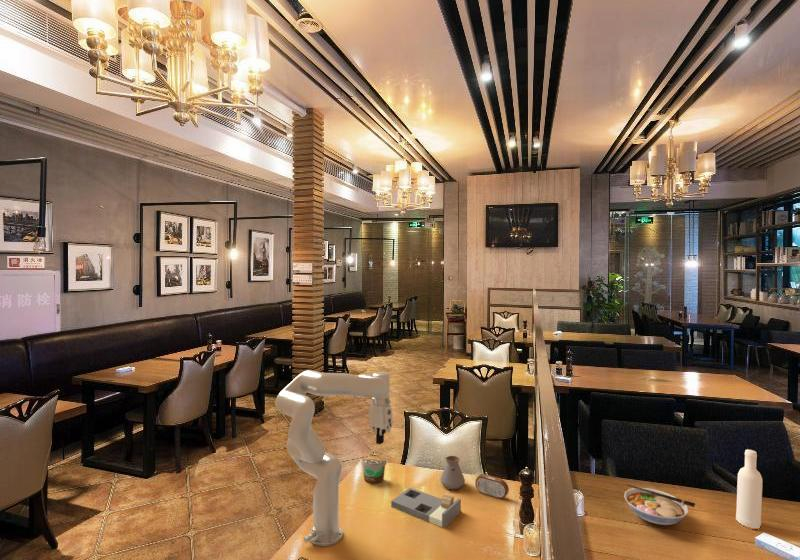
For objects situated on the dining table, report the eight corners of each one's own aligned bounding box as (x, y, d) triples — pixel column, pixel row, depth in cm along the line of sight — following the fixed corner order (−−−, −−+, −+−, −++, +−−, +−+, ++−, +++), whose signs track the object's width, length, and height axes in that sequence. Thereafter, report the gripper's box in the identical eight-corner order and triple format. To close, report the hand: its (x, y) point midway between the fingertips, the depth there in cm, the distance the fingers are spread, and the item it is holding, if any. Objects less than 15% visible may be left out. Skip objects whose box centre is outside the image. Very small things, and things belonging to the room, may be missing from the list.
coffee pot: (440, 478, 214) (440, 448, 213) (464, 480, 212) (464, 449, 212) (439, 502, 192) (439, 469, 192) (466, 504, 191) (466, 470, 191)
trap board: (444, 528, 174) (444, 514, 174) (391, 506, 189) (391, 494, 189) (460, 511, 185) (460, 498, 185) (409, 492, 200) (409, 480, 200)
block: (450, 509, 182) (450, 500, 182) (441, 507, 184) (441, 497, 184) (453, 505, 186) (453, 495, 186) (444, 502, 188) (445, 493, 188)
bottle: (739, 527, 175) (742, 453, 174) (732, 517, 183) (735, 445, 181) (764, 532, 172) (767, 456, 171) (756, 521, 180) (759, 448, 179)
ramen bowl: (613, 518, 181) (613, 499, 181) (629, 497, 198) (630, 479, 197) (684, 545, 164) (685, 524, 164) (696, 519, 181) (696, 500, 180)
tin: (508, 498, 196) (509, 480, 196) (506, 501, 193) (506, 483, 193) (477, 489, 204) (477, 471, 204) (474, 492, 202) (474, 474, 201)
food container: (358, 483, 208) (358, 463, 208) (361, 477, 214) (361, 457, 214) (383, 486, 206) (384, 465, 206) (386, 479, 212) (386, 459, 212)
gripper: (399, 402, 189) (399, 444, 189) (372, 395, 197) (372, 436, 198) (388, 406, 183) (388, 450, 183) (361, 399, 191) (361, 441, 192)
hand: (379, 443), depth 190 cm, fingers closed
